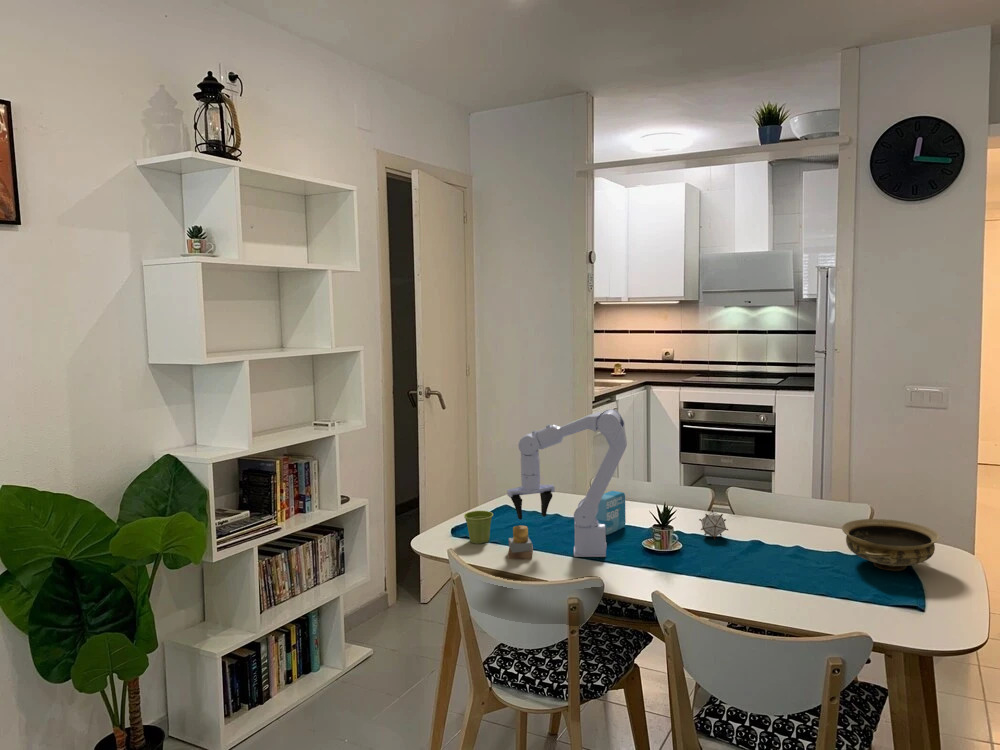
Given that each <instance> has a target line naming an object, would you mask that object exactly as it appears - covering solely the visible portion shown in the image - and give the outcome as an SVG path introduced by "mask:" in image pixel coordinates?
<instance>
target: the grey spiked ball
mask: <svg viewBox="0 0 1000 750" xmlns="http://www.w3.org/2000/svg"><path fill="white" fill-rule="evenodd" d="M704 515H705V516H704V517H703V518H702V519H701V518H699V519H698V521H701V522H700V523H701V527H702V528H700V531H703V532H704V534H703V535H704V536H706V535H708V536H711V537H712V538H713V539H714V540H716V538H717V536H722V533H723V532H725V531H729V529H728V528H727V527H726V521H727V519H726V518H725V519H724V518H723V515H724V514H723V513H721V514H718V513H715V512H714V510H713V509H711V512H710V513H708V514H707V513H705V514H704Z"/></svg>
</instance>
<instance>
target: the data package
mask: <svg viewBox="0 0 1000 750" xmlns="http://www.w3.org/2000/svg"><path fill="white" fill-rule="evenodd" d="M595 518H596V519H597V520H598V522H599V524H605V533H606V536H608V535H610V534H613V533H614V532H617V531H619V530H621V529H623V528H624V527H625V526H626V494H625V492H622V491H616V490H610V491H608V492H604V494H603V496H602V498H601V500H600V502H599V505H598V513H597V515H596V517H595Z"/></svg>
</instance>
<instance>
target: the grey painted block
mask: <svg viewBox="0 0 1000 750" xmlns="http://www.w3.org/2000/svg"><path fill="white" fill-rule="evenodd" d="M532 545H533V543H532V540H531V539H530V537H529V536H528V542H525V543H515V542H514V541H513V537H508V547H510V549H511V551H512V553H515V552H527V551H532Z"/></svg>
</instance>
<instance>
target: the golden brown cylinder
mask: <svg viewBox="0 0 1000 750" xmlns="http://www.w3.org/2000/svg"><path fill="white" fill-rule="evenodd" d="M512 536H513V537H512V538H513V541H514V542H515V543H525V542H528V537H529V528H528V526H526V525H515V526H513V527H512Z"/></svg>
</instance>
